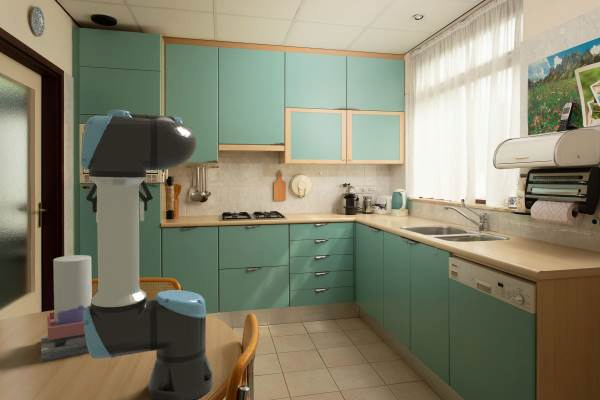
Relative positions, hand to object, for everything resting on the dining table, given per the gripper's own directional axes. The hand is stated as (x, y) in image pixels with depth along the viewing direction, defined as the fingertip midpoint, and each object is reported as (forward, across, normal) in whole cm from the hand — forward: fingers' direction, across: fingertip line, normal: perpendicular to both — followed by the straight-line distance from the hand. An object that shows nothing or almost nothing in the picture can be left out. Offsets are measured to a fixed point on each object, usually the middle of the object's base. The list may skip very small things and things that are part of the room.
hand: (120, 221), depth 134 cm
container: (+30, +14, +6) cm, 34 cm away
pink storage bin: (+34, +14, +6) cm, 37 cm away
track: (+37, +6, +6) cm, 38 cm away
